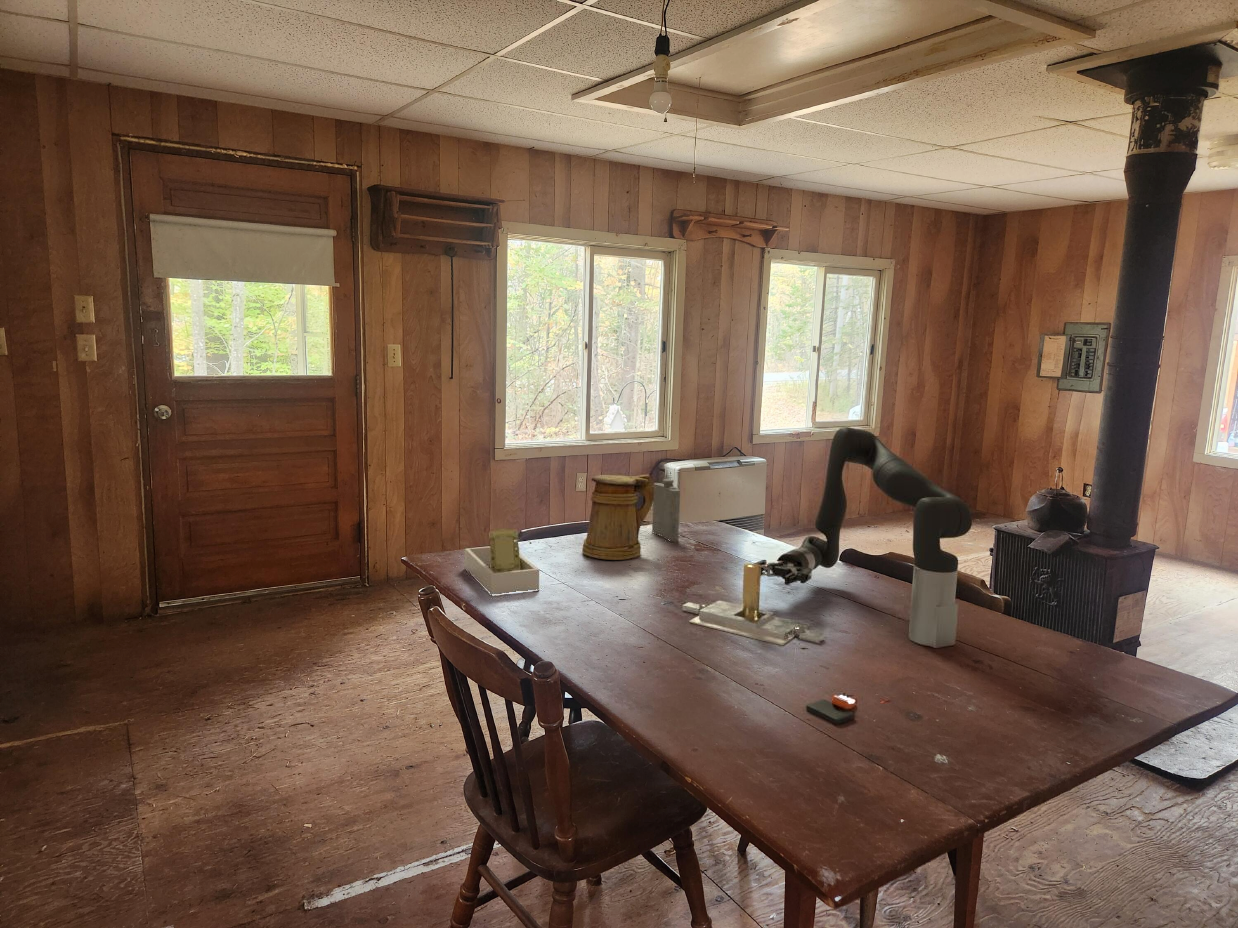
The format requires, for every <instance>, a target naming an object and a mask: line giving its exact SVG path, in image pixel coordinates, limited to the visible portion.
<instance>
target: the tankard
mask: <svg viewBox="0 0 1238 928" xmlns="http://www.w3.org/2000/svg"><path fill="white" fill-rule="evenodd" d="M650 476H651V475H649V474H648V473H647V474H642V475H641V474H640V475H637V476H635V475H634V476H633V475H620V474H619V475H618V474H617V475H614V474H613V475H611V474H600V475H596V476H593V477H592V478H591V481H592V482H594V483H595V486H594V489H593V490H592V492H591V495H590V501H591V507H590V508H591V509H590V515H589V521H588V527H587V531H586V532H587V533H586V538H585V539H584V540H583V544H582V548H581V549H582V553H583V554H584V555H585V556H588V557H589V558H595V559H600V560H601V559H602V560H612V561H622V560H623V561H624V560H631V558H632V559H635V558H637V557H639V556H640V555H641V550H642V547H641V542H640V541H639V536H640V535H639V534H640V529H641V525H642V524H643V522H644V520H645V518H646V517H647V515H648V514H649V512H650V511H651V508H652V507H653V499H654V483H653V481H652V479H651V477H650ZM637 493H640V494H641V496H642V498H643V499H642V504H641V505H640V506H639V507H636V503H638V500H639V496H638V494H637Z"/></svg>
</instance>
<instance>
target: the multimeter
mask: <svg viewBox="0 0 1238 928" xmlns="http://www.w3.org/2000/svg"><path fill="white" fill-rule="evenodd" d="M853 698H854V699H853ZM855 699H857V697H855V696H854V695H853V694H852V695H851V694H846V693H845V692H843V693H842V694H840V695H833V696H832V700H831V702H830V701H828V700H826V699H819V700H816V701H814V702H810V703H808V704H806V707H805V711H806V712H808V713H811V714H813V715H814V716H817V717H820V718H821V719H823V720H825V721H828V722H829V723H831V724H833V725H835V726H841V725H843V724H846V723H849V722H851V721H854V720H855V713H854V712H852V711H850V710H851V709H853V708H854V707H855V705H856V700H855ZM892 699H893V698H888V699H885V700H884V701H882V702H881V701H880V704H883V703H887V702H889V701H890V700H892Z"/></svg>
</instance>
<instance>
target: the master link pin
mask: <svg viewBox="0 0 1238 928" xmlns="http://www.w3.org/2000/svg"><path fill="white" fill-rule="evenodd" d="M761 577H762V576H761V565H758V564H754V563H753V562H752V563H745V564H744V565H743V577H742V579H743V580H742V598H741V605H742V617H743V618H747V619H751V620H755V621H756V620H758V618H759V609H760V596H761V595H760V594H761Z"/></svg>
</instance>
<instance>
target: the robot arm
mask: <svg viewBox="0 0 1238 928" xmlns="http://www.w3.org/2000/svg"><path fill="white" fill-rule="evenodd" d="M846 463H853V464H856V465H857V464H858V465H863V466H865V467H867V468H869V469H870V470H872V473H871V475H872V480H873V482H874V484H875V486H876V487H877V488H878V489H879V490H880V491H882V493H884V495H886V496H887V497H889V498H890V499H891V500H893V501H895V502H897V503H900V504H902V505H906V506H909V507H911V508H914V510H913V511H914V512H913V518H912V519H913V520H912V521H913V522H912V525H913V528H912V532H913V533H912V554H913V558H914V560H913V575H912V586H911V600H910V610H909V611H910V613H909V624H908V625H909V626H908V635H907V636H908V639H909V640H910V641H912V642H914V643H915V644H918V645H919V644H920V645H921V646H927V647H931V648H935V649H938V648H944V647H948V646H953V645H956V636H957V627H958V626H957V625H958V624H957V623H958V615H959V604H958V603H956V592H957V591H956V590H957V583H958V581H957V580H958V569H959V558H958V557H957V556H956V555H955V554H953V553H951V552H948V551H945V550H943V549H941V539H955V538H961V537H962V536H965V535H966V534H967V533H969V532H970V530H971V528H972V526H973V516H972V513H971V510H970V508H969V506H968V505H967V503H966V502H965V501H964V500H962V499H961V498H960V497H958V496H956V495H955V494H953V493H952V492H949V491H948V490H945V489H943V488H942V487H940V486H938V485H937V484H936V483H934V482H933V481H932V480H930V479H929V478H927V477H926V476H925V475H924V474H922V473H921V472H920V471H918V470H917V469H915V467H913V466H912V464H909V463H908V462H907V461H906V460H905V459H902V458H901V457H900V456H898V455H897V454H896V453H894V452H893V451H891V450H890V449H888V447H887V446H886V445H885V444H884V443H883V442H882V441H881V440H880V439H879V438H878V437H877V435H875V434H874V433H872V432H870V431H868V430H865V429H858V428H855V427H854V428H853V427H848V426H847V427H846V426H844V427H843V426H842V427H840V428H839V429H838V430H836V431H835V434H834V435H833V438H832V441H831V444H830V450H829V455H828V462H827V469H826V476H825V477H826V478H825V483H824V484H825V485H824V489H823V490H824V491H823V495H822V498H821V503H820V506H819V507H818V509H819V510H818V512H817V515H816V519H815V520H814V521H815V522H814V527H815V529H816V530H817V531H818V532H820V533H821V534H822V535H824V536H825V539H826V540H825V539H822V538H820V537H817V536H814V535H809V536H806V537H805V538H804V539H803V541H802V543H801V545H800V547H796V548H793V549H791V550H788V551H787V552H785V553H783V554H781V555H779V557H778V558H777V559H776V561H774V562H773V561H771V562H767V560H766V559H761V560H759V561H756V562H754V563H753V564H758V565H761V577H762V576H766V577H768V578H772V577H777V578H782V579H783V580H784V585H786V586H789V585H790V584H793V583H798V582H799V583H800V584H806V583H807V582H809V581H810V580H811V579H812V575H813V573H812V572H813V571H814V570H816V569H817V568H818V567H819V566H820V567H823V568H824V569H825V568H826V569H830V568H832V567H834V566H835V565H836V563H837V562H838V560H839V556H840V534H841V529H842V524H843V523H844V519H845V516H846V513H847V507H848V502H847V501H848V500H847V495H846V492H845V488H844V482H843V471H844V467H845V464H846Z"/></svg>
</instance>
